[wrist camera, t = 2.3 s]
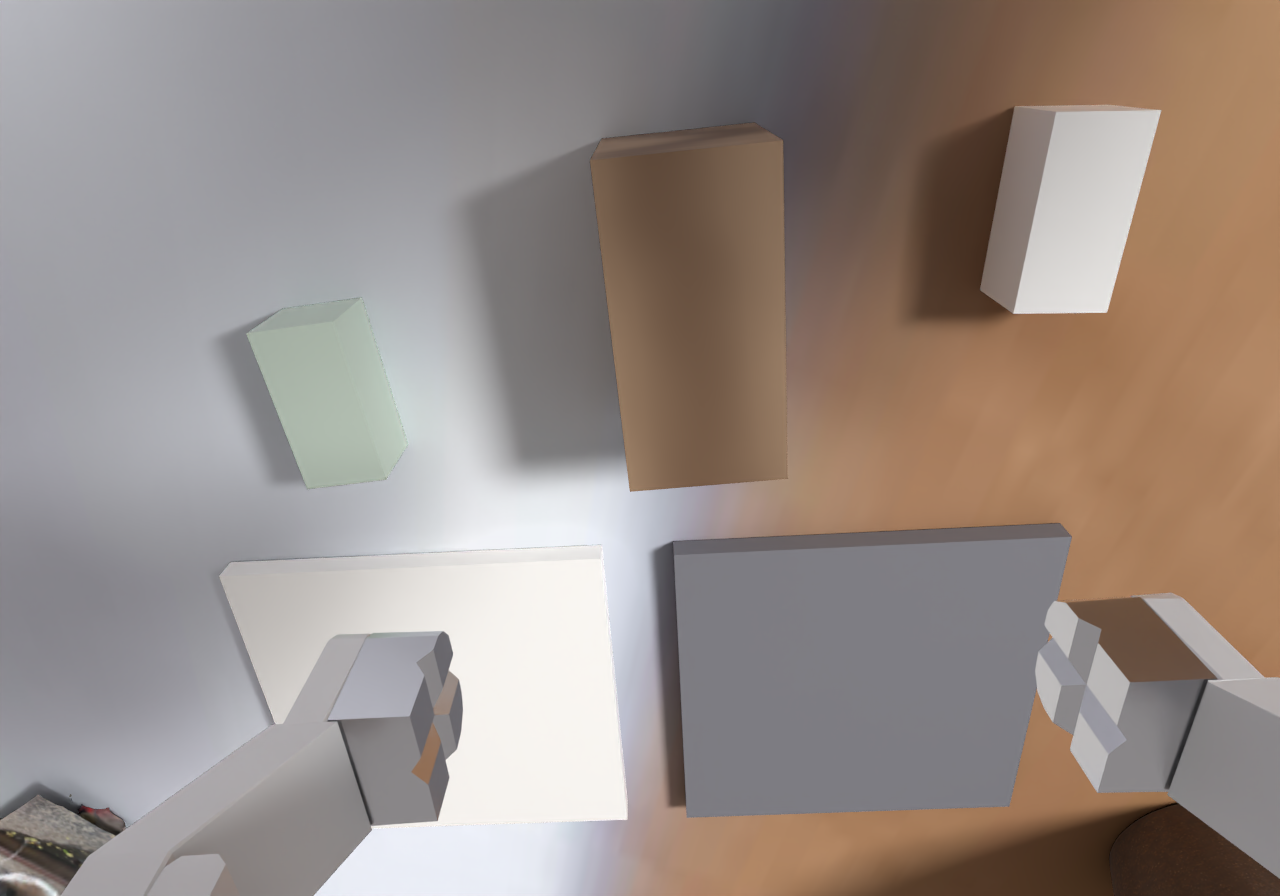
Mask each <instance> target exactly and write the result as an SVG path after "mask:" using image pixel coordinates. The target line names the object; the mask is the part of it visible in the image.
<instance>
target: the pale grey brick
mask: <svg viewBox="0 0 1280 896" xmlns="http://www.w3.org/2000/svg"><path fill="white" fill-rule="evenodd" d="M1160 113H1161V110H1154V109H1145V108H1135V107H1125V106H1116V105H1064V106H1015V107H1014V113H1013V118H1012V123H1011V128H1010V134H1009V139H1008V144H1007V150H1006V155H1005V160H1004V165H1003V171H1002V176H1001V181H1000V186H999V192H998V197H997V202H996V208H995V213H994V218H993V223H992V229H991V234H990V239H989V245H988V250H987V255H986V260H985V266H984V271H983V276H982V282H981V287H980V291H982V292H983V293H985V294H986V295H987V296H989V297H990V298H992V299H993V300H995V301H996V302H997V303H999V304H1000V305H1002V306H1003V307H1005V308H1006V309H1007V310H1009V311H1010V312H1012V313H1013V314H1032V313H1107V310H1108V307H1109V303H1110V299H1111V295H1112V292H1113V288H1114V284H1115V280H1116V277H1117V273H1118V269H1119V266H1120V262H1121V258H1122V254H1123V251H1124V247H1125V243H1126V240H1127V236H1128V232H1129V228H1130V225H1131V221H1132V217H1133V213H1134V210H1135V206H1136V202H1137V199H1138V195H1139V191H1140V187H1141V184H1142V180H1143V176H1144V173H1145V169H1146V165H1147V161H1148V158H1149V154H1150V150H1151V146H1152V143H1153V139H1154V135H1155V132H1156V128H1157V124H1158V120H1159V117H1160Z"/></svg>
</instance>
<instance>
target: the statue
mask: <svg viewBox="0 0 1280 896" xmlns="http://www.w3.org/2000/svg"><path fill="white" fill-rule="evenodd" d="M70 795H71V794H70ZM69 797H70V796H69ZM71 801H72V799H71ZM81 805H82V804H81ZM78 811H79V813H78V815H77V814H75V813H73V812H71V811H69V810H68V809H66V808H64V807H62V806H59V805H56V804H54V803H52V802H50V801H49V800H47V799H45V798H43V797H41V796H40V795H37V796H35V797H34V798H33V799H31V800H30V801H28V802H27V803H26V804H24V805H23V806H21V807H20V808H18V809H17V810H15V811H13V812H12V813H10V814H9V815H7V816H6V817H4V818H3V819H0V896H61V894H62V893H63V891H64V890H65V889H66V887H67V886H68V884H69V883H70V881H71V880H72V878H73V877H74V876H75V874H76V873H77V871H78V870H79V868H80V867H81V866H82V864H83V863H84V861H85V860H86V858H87V857H88V856H89V855H90V854H92V853H93V852H95V851H96V850H97V849H99V848H100V847H102V846H103V845H104V844H106V843H107V842H109V841H110V840H111V839H113V838H114V837H115V836H117V835H118V834H120V833H121V832H122V831H124V830H125V829H126V827H125V823H124V821H123V820H122V819H120V818H119V817H117V816H116V815H114V814H112V813H111V812H110V810H109V808H106V809H92V808H89V807H85V806H83V805H82V806H81V807H80V809H78ZM79 815H80V816H81V817H80V816H79Z"/></svg>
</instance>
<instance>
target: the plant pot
mask: <svg viewBox="0 0 1280 896" xmlns="http://www.w3.org/2000/svg"><path fill="white" fill-rule="evenodd" d="M1109 863H1110V871H1111V878H1112V886H1113V893H1114V896H1280V879H1279V878H1278V877H1277V876H1275V875H1274V874H1273V873H1271V872H1270V871H1269V870H1267V869H1266V868H1265V867H1263V866H1262V865H1261V864H1259V863H1258V862H1257V861H1255V860H1254V859H1253V858H1251V857H1250V856H1249V855H1247V854H1246V853H1245V852H1243V851H1242V850H1241V849H1239V848H1238V847H1237V846H1235V845H1234V844H1233V843H1231V842H1230V841H1228V840H1227V839H1226V838H1224V837H1223V836H1222V835H1220V834H1219V833H1218V832H1216V831H1215V830H1214V829H1212V828H1211V827H1210V826H1208V825H1207V824H1206V823H1204V822H1203V821H1202V820H1200V819H1199V818H1198V817H1196V816H1195V815H1194V814H1192V813H1191V812H1190V811H1188V810H1187V809H1186V808H1184V807H1183V806H1182V805H1180V804H1177V805H1172V806H1169V807H1166V808H1162V809H1160V810H1157V811H1154V812H1152V813H1150V814H1148V815H1146V816H1144V817H1142V818H1140V819H1138V820H1137V821H1136V822H1134V823H1133V824H1131V825H1130V826H1129V827H1128V828H1127V829H1125V830H1124V831H1123V832H1122V833H1121V834H1120V835H1119V837H1118V838H1117V839H1116V841H1115V843H1114V844H1113V846H1112V849H1111V852H1110V857H1109Z"/></svg>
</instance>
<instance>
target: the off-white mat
mask: <svg viewBox="0 0 1280 896" xmlns="http://www.w3.org/2000/svg"><path fill="white" fill-rule="evenodd" d="M219 578H220V581H221V583H222V586H223V588H224V591H225V594H226V596H227V599H228V602H229V604H230V607H231V609H232V612H233V615H234V617H235V620H236V623H237V625H238V628H239V630H240V633H241V636H242V638H243V641H244V644H245V646H246V649H247V651H248V654H249V657H250V659H251V662H252V665H253V667H254V670H255V673H256V675H257V678H258V680H259V683H260V686H261V688H262V691H263V694H264V696H265V699H266V701H267V704H268V707H269V709H270V712H271V715H272V717H273V720H274V722H275V724H283V723H284V721H285V719H286V717H287V716H288V714H289V712H290V710H291V708H292V706H293V705H294V703H295V701H296V699H297V697H298V695H299V694H300V692H301V690H302V688H303V686H304V684H305V682H306V681H307V679H308V677H309V675H310V673H311V671H312V670H313V668H314V666H315V664H316V662H317V660H318V659H319V657H320V655H321V653H322V651H323V649H324V647H325V646H326V644H327V642H328V641H329V640H330V639H331V638H333V637H334V636H336V635H339V634H372V633H388V632H425V631H444V632H445V633H446V634H448V635H449V639H450V643H451V647H452V651H453V657H452V660H451V664H450V667H449V671H450V672H451V673H452V674H454V675H455V676H456V677H457V678H458V679H459V682H460V687H461V692H462V703H463V716H462V729H461V735H460V739H459V743H458V747H457V750H456V751H455V752H454V753H453V754H452V755H451V756H449V757H448V758H447V759H446V764H447V769H448V773H449V781H448V785H447V789H446V792H445V796H444V800H443V803H442V807H441V811H440V814H439V818H438V821H433V822H419V823H405V824H392V825H378V826H371V828H400V827H429V826H458V825H487V824H515V823H544V822H573V821H602V820H627V817H628V799H627V789H626V779H625V769H624V759H623V749H622V739H621V729H620V719H619V709H618V699H617V689H616V679H615V669H614V659H613V649H612V639H611V629H610V619H609V609H608V599H607V589H606V579H605V569H604V559H603V549H602V545H586V546H565V547H543V548H522V549H501V550H479V551H458V552H437V553H415V554H394V555H373V556H352V557H330V558H309V559H288V560H266V561H245V562H230V563H229V564H228V566H227V567H226V568H225V569H224V571H223V572H222V573H221V574H220V575H219Z"/></svg>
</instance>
